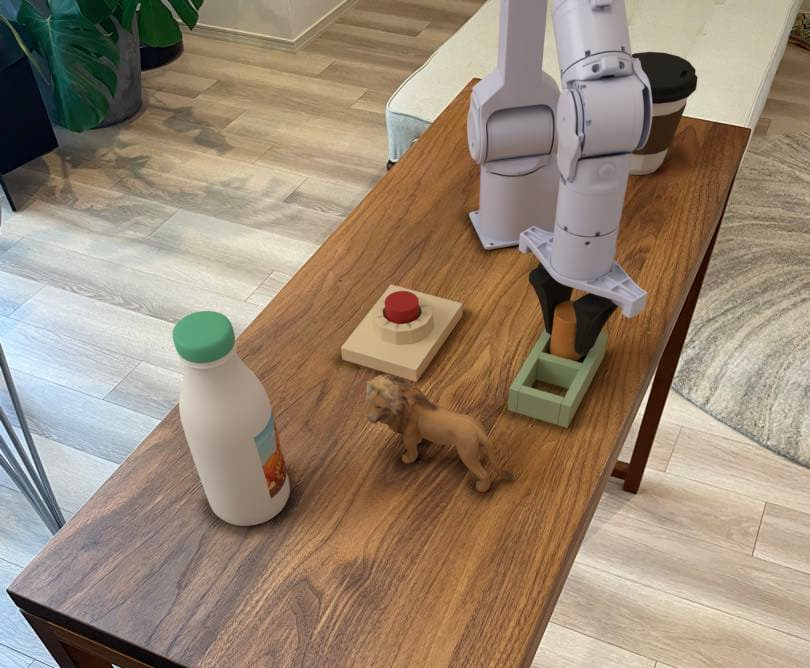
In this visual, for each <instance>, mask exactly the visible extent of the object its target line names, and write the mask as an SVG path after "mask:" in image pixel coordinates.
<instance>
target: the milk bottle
mask: <svg viewBox="0 0 810 668" xmlns="http://www.w3.org/2000/svg"><path fill="white" fill-rule="evenodd" d="M172 341H173V345H174V348H175V350H176V352H177V356H178V360H179V361H180V362H181V363H182V364H183V365H184V366H183V379H182V382H181V383H182V384H181V387H180V390H179V391H180V392H179V401H178V409H179V416H180V422H181V425H182V429H183V432H184V435H185V439H186V441H187V444H188V447H189V450H190V453H191V457H192V459H193V462H194V465H195V468H196V471H197V474H198V476H199V479H200V482H201V484H202V487H203V491H204V493H205V496H206V498H207V501H208V503H209V506H210V509H211V510H212V511H213V513H214V514H215V515H216V516H217V517H218V518H219V519H221V520H223V521H224V522H225V523H228V524H231V525H233V526H239V527H250V526H256V525H260V524H263V523H266V522H268V521H270V520H271V519H273V518H275V517H276V516H277V515H278V514H279V513H280V512H282V511H283V509H284V507H285V506H286V504H287V502H288V501H289V497H290V495H291V494H290V493H291V484H290V479H289V474H288V471H287V466H286V461H285V457H284V454H283V453H284V452H283V449H282V445H281V440H280V436H279V432H278V427H277V425H276V420H275V417H274V412H273V410H272V404H271V401H270V399H269V396H268V394H267V391H266V389H265V387H264V385H263V384H262V382H261V381H260V379H259V378H258V377H257V376H256V374H255V373H254V372H253V371H252V370H251V368H249V367H248V366H247V365H246V364H245V363H244V361H243V360H242V359H241V358H240V356H239V355H238V353H237V349H238V343H237V340H236V335H235V331H234V327H233V324H232V322H231V320H230V319H229V318H228V317H227V316H226V315H225V314H223V313H221V312H218V311H212V310H201V311H195V312H193V313H190V314H188V315H186V316H184V317H183V318H181V319H180V320H178V321H177V322H176V324H175V325H174V326H173V328H172Z"/></svg>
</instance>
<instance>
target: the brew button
mask: <svg viewBox="0 0 810 668" xmlns="http://www.w3.org/2000/svg"><path fill="white" fill-rule="evenodd" d="M385 313H386V318H387V320H388V321H389V322H392V323H396V324H408V323H411V322H413V321H415V320H416V319H417V318H418V316H419V300H418V297H417V296H416V295H415V294H413V293H411V292H408V291H397V292H394V293H391V294H390V295H388V296H387V297H386V299H385Z"/></svg>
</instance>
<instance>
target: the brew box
mask: <svg viewBox="0 0 810 668" xmlns="http://www.w3.org/2000/svg"><path fill="white" fill-rule="evenodd" d="M397 291H408V292H411V293H413V294H415V295H416V296H417V297H418V300H419V316H418V318H417V319H416V320H415V321H413V322H411V323H408V324H396V323H392V322H389V321H388V320H387V318H386V313H385V299H386V297H387V296H388V295H390V294H391V293H394V292H397ZM463 306H464V305H463V303H462V302H459V301H455V300H451V299H447V298H444V297H441V296H437V295H432V294H429V293H426V292H420V291H418V290H413V289H410V288H406V287H402V286H398V285H394V284H390V285H388V288H386V290H385V291H384V292H383V294H381V296H380V297H379V299H378V300H377V301H376V302H375V304H374V305H373V306H372V307H371V308H370V310H369V311H368V312H367V314H366V315H365V316H364V318H363V319H362V320H361V321H360V322H359V324H358V325H357V326H356V328H355V329H354V330H353V332H352V333H351V334H350V335H349V336H348V338H347V339H346V340H345V341H344V343H343V344H342V345H341V347H340V351H341V352H340V353H341V359H342V360H343V361H346V362H349V363H353V364H356V365H359V366H362V367H365V368H369V369H373V370H375V371H379V372H383V373H386V374H388V375H391V376H396V377H398V378H401V379H402V378H403V379H404V380H405V379H406V380H407V381H408V380H409V381H412V382H415V383H417V382H418V381H419V379H420V378H421V377H422V375H423V374H424V372H425V371H426V369H427V368H428V366H429V365H430V363H431V362H432V360H433V359H434V358H435V356H436V355H437V353H438V352H439V350H440V349H441V347H442V346H443V344H444V343H445V342H446V340H447V339H448V337H449V336H450V334H451V333H452V332H453V330H454V328H455V327H456V326H457V324H458V323H459V321H460V320H461V319H462V318H463Z"/></svg>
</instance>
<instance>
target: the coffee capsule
mask: <svg viewBox="0 0 810 668" xmlns="http://www.w3.org/2000/svg"><path fill="white" fill-rule="evenodd" d="M574 301H576V300H574V299H573V300H571V299H570V300H569V301H564V302H561V303H560V304H558V305H557V306H556V308H555V311H554V319H553V327H552V335H551V343H550V354H551V355H554V356H558V357H562V358H565V359H569V360H572V361H576V362H577V361H579V360H581V359H582V358H583V355H584V353H583V354H582V355H579V354H578V353H576V352H575V339H576V330H577V325H576V316H575V311H574V308H573V306H572V305H573V302H574Z"/></svg>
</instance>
